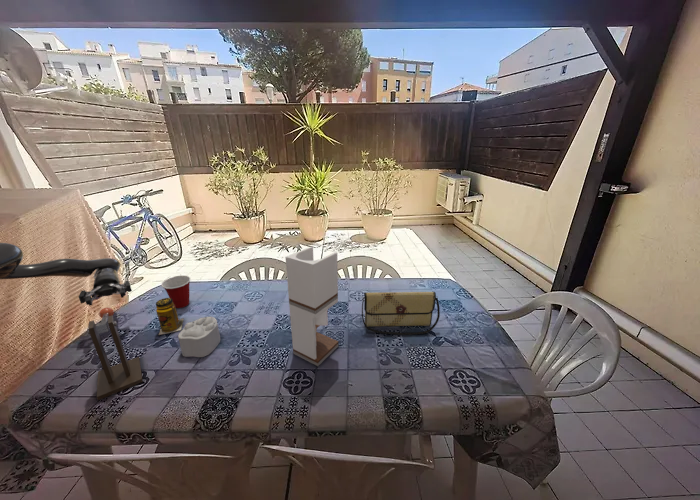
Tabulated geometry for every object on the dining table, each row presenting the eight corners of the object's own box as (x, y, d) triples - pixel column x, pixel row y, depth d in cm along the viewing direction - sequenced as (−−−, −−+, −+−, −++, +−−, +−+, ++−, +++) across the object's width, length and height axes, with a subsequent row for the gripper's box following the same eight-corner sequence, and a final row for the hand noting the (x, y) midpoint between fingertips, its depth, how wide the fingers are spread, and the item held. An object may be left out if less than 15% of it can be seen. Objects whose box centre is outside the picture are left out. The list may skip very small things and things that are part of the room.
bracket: (99, 374, 82) (77, 318, 76) (139, 359, 88) (123, 306, 82) (97, 400, 74) (73, 340, 67) (143, 381, 80) (124, 324, 73)
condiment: (158, 335, 100) (150, 307, 96) (163, 323, 108) (155, 296, 104) (181, 330, 103) (174, 303, 99) (184, 318, 110) (178, 292, 106)
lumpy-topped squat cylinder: (177, 356, 90) (171, 334, 87) (200, 332, 102) (196, 312, 99) (207, 357, 89) (203, 335, 86) (227, 333, 102) (223, 313, 99)
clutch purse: (361, 335, 101) (362, 300, 96) (360, 324, 107) (360, 290, 102) (440, 334, 101) (445, 299, 97) (434, 323, 108) (438, 289, 103)
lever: (101, 318, 88) (98, 308, 87) (115, 315, 90) (112, 304, 90) (95, 337, 73) (91, 325, 73) (112, 332, 75) (109, 320, 75)
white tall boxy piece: (317, 366, 86) (313, 264, 74) (293, 353, 91) (285, 256, 80) (338, 346, 95) (337, 252, 83) (315, 335, 100) (310, 246, 89)
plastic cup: (162, 312, 114) (156, 287, 110) (173, 300, 124) (167, 276, 120) (190, 310, 116) (185, 285, 112) (198, 297, 126) (193, 274, 122)
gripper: (78, 279, 101) (74, 295, 89) (127, 269, 110) (129, 283, 98) (85, 297, 103) (81, 315, 92) (132, 286, 112) (134, 301, 100)
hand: (106, 299), depth 95 cm, fingers open, 8 cm apart
